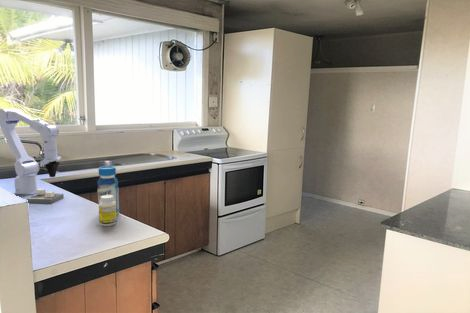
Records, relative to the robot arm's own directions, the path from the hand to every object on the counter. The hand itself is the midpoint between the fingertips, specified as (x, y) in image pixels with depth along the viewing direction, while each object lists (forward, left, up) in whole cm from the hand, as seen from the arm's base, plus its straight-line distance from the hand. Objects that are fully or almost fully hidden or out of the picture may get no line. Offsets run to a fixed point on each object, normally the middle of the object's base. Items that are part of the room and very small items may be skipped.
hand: (52, 176), depth 178 cm
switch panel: (+2, -9, -9) cm, 13 cm away
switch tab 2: (+5, -11, -7) cm, 14 cm away
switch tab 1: (-2, -7, -7) cm, 10 cm away
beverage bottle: (+40, -25, -10) cm, 48 cm away
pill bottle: (+45, -37, -10) cm, 59 cm away
